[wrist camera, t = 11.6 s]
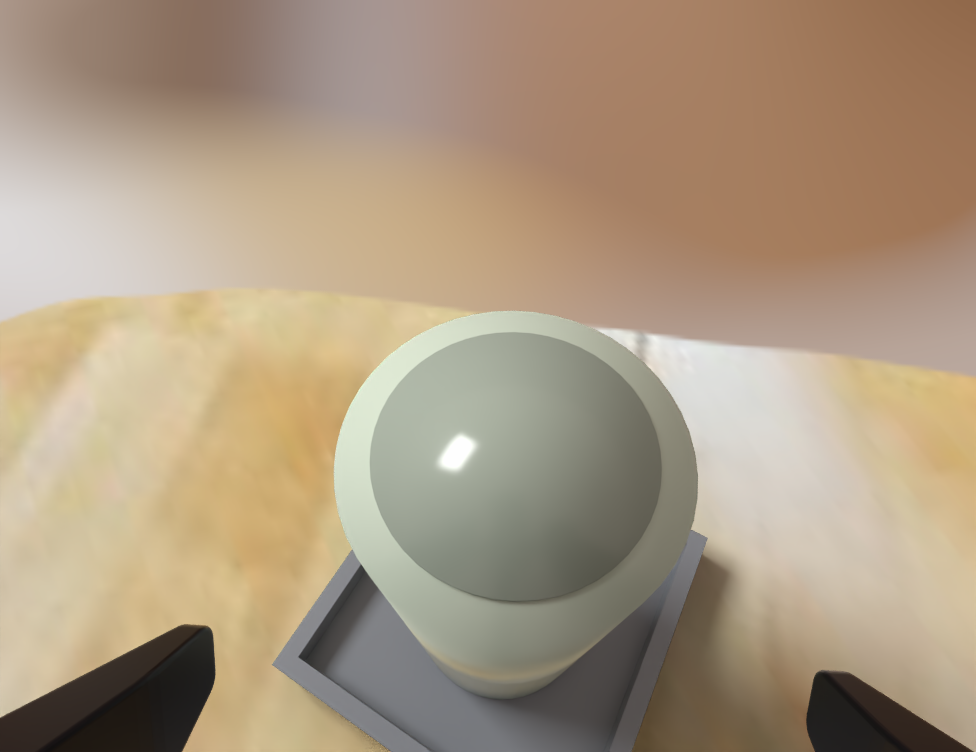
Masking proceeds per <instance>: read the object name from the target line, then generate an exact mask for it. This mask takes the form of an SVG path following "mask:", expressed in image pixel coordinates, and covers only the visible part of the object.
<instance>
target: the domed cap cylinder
mask: <svg viewBox="0 0 976 752" xmlns="http://www.w3.org/2000/svg"><path fill="white" fill-rule="evenodd" d="M334 491H335V497H336V502H337V508H338V514H339V517H340V520H341V523H342V526H343V529H344V532H345V535H346V537H347V539H348V541H349V543H350V545H351V547H352V549H353V551H354V553H355V555H356V557H357V559H358V560H359V562H360V563H361V565H362V566H363V567H364V569H365V570H366V572H367V573H368V575H369V576H370V578H371V579H372V580H373V582H374V583H375V584H376V586H377V587H378V588H379V590H380V591H381V592H382V594H383V595H384V596H385V597H386V599H387V600H388V601H389V603H390V604H391V605H392V607H393V608H394V609H395V611H396V612H397V613H398V615H399V616H400V617H401V619H402V620H403V621H404V623H405V624H406V625H407V627H408V628H409V629H410V631H411V632H412V633H413V635H414V636H415V637H416V639H417V640H418V641H419V643H420V644H421V645H422V647H423V648H424V649H425V651H426V652H427V653H428V655H429V656H430V657H431V659H432V660H433V661H434V662H435V664H436V665H437V666H438V668H439V669H440V670H441V671H442V672H443V673H444V674H445V675H446V677H447V678H449V679H450V680H451V681H452V682H454V683H455V684H456V685H458V686H459V687H461V688H463V689H464V690H466V691H468V692H470V693H473V694H475V695H477V696H481V697H485V698H490V699H499V700H503V699H515V698H520V697H524V696H527V695H530V694H532V693H535V692H537V691H539V690H540V689H542V688H544V687H546V686H547V685H548V684H550V683H551V682H552V681H554V680H555V679H556V678H557V677H558V676H560V675H561V674H562V673H563V672H564V671H565V670H566V669H568V668H569V667H570V666H571V665H572V664H573V663H575V662H576V661H577V660H578V659H579V658H580V657H581V656H583V655H584V654H585V653H586V652H587V651H588V650H590V649H591V648H592V647H593V646H594V645H595V644H596V643H598V642H599V641H600V640H601V639H602V638H603V637H605V636H606V635H607V634H608V633H609V632H610V631H612V630H613V629H614V628H615V627H616V626H617V625H618V624H620V623H621V622H622V621H623V620H624V619H625V618H627V617H628V616H629V615H630V614H631V613H632V612H633V611H635V610H636V609H637V608H638V607H639V606H640V605H642V604H643V603H644V602H645V601H646V600H647V599H648V598H649V597H650V596H651V595H652V594H653V592H654V591H655V590H656V589H657V588H658V587H659V586H660V585H661V584H662V583H663V581H664V580H665V578H666V577H667V576H668V574H669V573H670V572H671V570H672V569H673V567H674V566H675V564H676V562H677V560H678V558H679V557H680V555H681V553H682V551H683V549H684V547H685V545H686V542H687V539H688V536H689V533H690V530H691V527H692V524H693V521H694V515H695V509H696V503H697V493H698V473H697V465H696V457H695V451H694V447H693V444H692V440H691V436H690V433H689V430H688V428H687V425H686V423H685V420H684V418H683V416H682V413H681V411H680V410H679V408H678V406H677V404H676V403H675V401H674V399H673V397H672V396H671V394H670V393H669V391H668V390H667V389H666V387H665V386H664V385H663V383H662V382H661V381H660V379H659V378H658V377H657V376H656V375H655V374H654V373H653V372H652V371H651V369H650V368H649V367H648V366H647V365H646V364H645V363H644V362H643V361H641V360H640V359H639V358H638V357H637V356H635V355H634V354H633V353H632V352H631V351H629V350H628V349H627V348H625V347H624V346H622V345H621V344H619V343H618V342H616V341H615V340H613V339H612V338H610V337H608V336H606V335H604V334H602V333H601V332H599V331H597V330H595V329H593V328H590V327H588V326H585V325H583V324H580V323H578V322H575V321H572V320H568V319H565V318H561V317H558V316H554V315H548V314H542V313H536V312H524V311H496V312H488V313H480V314H474V315H470V316H466V317H462V318H457V319H454V320H451V321H448V322H446V323H443V324H440V325H437V326H435V327H433V328H431V329H429V330H427V331H425V332H423V333H421V334H419V335H417V336H416V337H414V338H413V339H411V340H409V341H408V342H406V343H405V344H403V345H402V346H400V347H399V348H398V349H397V350H395V351H394V352H393V353H392V354H390V355H389V356H388V357H387V358H386V359H385V360H384V361H383V362H382V363H381V364H380V365H379V366H378V367H377V368H376V369H375V370H374V371H373V372H372V373H371V375H370V376H369V377H368V379H367V380H366V381H365V383H364V384H363V385H362V387H361V388H360V389H359V391H358V393H357V395H356V396H355V398H354V400H353V402H352V403H351V405H350V407H349V409H348V412H347V414H346V417H345V419H344V421H343V424H342V427H341V431H340V434H339V438H338V442H337V446H336V454H335V462H334Z"/></svg>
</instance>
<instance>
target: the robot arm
mask: <svg viewBox="0 0 976 752" xmlns="http://www.w3.org/2000/svg"><path fill="white" fill-rule="evenodd" d="M214 680H215V657H214V642H213V633H212V630H211V629H210V628H209V627H208V626H204V625H190V624H184V625H180V626H178V627H176V628H174V629H172V630H170V631H168V632H166V633H164V634H163V635H161V636H159V637H157V638H155V639H153V640H151V641H149V642H147V643H145V644H143V645H141V646H139V647H137V648H135V649H133V650H131V651H129V652H127V653H125V654H123V655H122V656H120V657H118V658H116V659H114V660H112V661H110V662H108V663H106V664H104V665H102V666H100V667H98V668H96V669H94V670H92V671H90V672H88V673H86V674H84V675H83V676H81V677H79V678H77V679H75V680H73V681H71V682H69V683H67V684H65V685H63V686H61V687H59V688H57V689H55V690H53V691H51V692H49V693H47V694H45V695H44V696H42V697H40V698H38V699H36V700H34V701H32V702H30V703H28V704H26V705H24V706H22V707H20V708H18V709H16V710H14V711H12V712H10V713H8V714H6V715H5V716H3V717H1V718H0V752H182V751H183V749H184V747H185V745H186V743H187V741H188V739H189V736H190V734H191V732H192V730H193V728H194V726H195V724H196V722H197V720H198V718H199V716H200V714H201V711H202V709H203V707H204V705H205V703H206V701H207V699H208V697H209V695H210V693H211V690H212V688H213V685H214ZM806 723H807V730H808V734H809V737H810V740H811V743H812V745H813V748H814V750H815V752H973V751H972V750H970V749H969V748H967V747H966V746H964V745H962V744H961V743H959V742H958V741H956V740H955V739H953V738H951V737H950V736H948V735H947V734H945V733H944V732H942V731H940V730H939V729H937V728H936V727H934V726H933V725H931V724H929V723H928V722H926V721H925V720H923V719H922V718H920V717H918V716H917V715H915V714H914V713H912V712H910V711H909V710H907V709H906V708H904V707H903V706H901V705H899V704H898V703H896V702H895V701H893V700H892V699H890V698H888V697H887V696H885V695H884V694H882V693H881V692H879V691H877V690H876V689H874V688H873V687H871V686H870V685H868V684H866V683H865V682H863V681H862V680H860V679H859V678H857V677H855V676H854V675H852V674H850V673H848V672H843V671H829V670H821V671H819V672H817V673H816V675H815V677H814V680H813V685H812V690H811V696H810V701H809V706H808V711H807V718H806Z"/></svg>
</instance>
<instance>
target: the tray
mask: <svg viewBox="0 0 976 752" xmlns="http://www.w3.org/2000/svg"><path fill="white" fill-rule="evenodd" d="M707 539H708V538H707V537H705V536H703V535H701V534H699V533H697V532H695V531H693V530H690V533H689V536H688V539H687V542H686V545H685V547H684V549H683V551H682V553H681V555H680V557H679V558H678V560H677V562H676V564H675V566H674V567H673V569H672V570H671V572H670V573H669V574H668V576H667V577H666V578H665V580H664V581H663V583H662V584H661V585H660V586H659V587H658V588H657V589H656V590H655V591H654V592H653V594H652V595H651V596H650V597H649V598H648V599H647V600H646V601H645V602H644V603H643V604H642V605H640V606H639V607H638V608H637V609H636V610H635V611H633V612H632V613H631V614H630V615H629V616H628V617H627V618H625V619H624V620H623V621H622V622H621V623H620V624H618V625H617V626H616V627H615V628H614V629H613V630H612V631H610V632H609V633H608V634H607V635H606V636H605V637H603V638H602V639H601V640H600V641H599V642H598V643H596V644H595V645H594V646H593V647H592V648H591V649H590V650H588V651H587V652H586V653H585V654H584V655H583V656H581V657H580V658H579V659H578V660H577V661H576V662H575V663H573V664H572V665H571V666H570V667H569V668H568V669H566V670H565V671H564V672H563V673H562V674H561V675H560V676H558V677H557V678H556V679H555V680H554V681H552V682H551V683H550V684H548V685H547V686H546V687H544V688H542V689H540V690H539V691H537V692H535V693H532V694H530V695H527V696H524V697H520V698H515V699H503V700H499V699H490V698H485V697H481V696H477V695H475V694H473V693H470V692H468V691H466V690H464V689H463V688H461V687H459V686H458V685H456V684H455V683H454V682H452V681H451V680H450V679H449V678H447V677H446V675H445V674H444V673H443V672H442V671H441V670H440V669H439V668H438V666H437V665H436V664H435V662H434V661H433V660H432V659H431V657H430V656H429V655H428V653H427V652H426V651H425V649H424V648H423V647H422V645H421V644H420V643H419V641H418V640H417V639H416V637H415V636H414V635H413V633H412V632H411V631H410V629H409V628H408V627H407V625H406V624H405V623H404V621H403V620H402V619H401V617H400V616H399V615H398V613H397V612H396V611H395V609H394V608H393V607H392V605H391V604H390V603H389V601H388V600H387V599H386V597H385V596H384V595H383V594H382V592H381V591H380V590H379V588H378V587H377V586H376V584H375V583H374V582H373V580H372V579H371V578H370V576H369V575H368V573H367V572H366V570H365V569H364V567H363V566H362V565H361V563H360V562H359V560H358V559H357V557H356V555H355V553H354V551H353V549H352V551H351V552H350V553H349V555H348V556H347V558H346V559H345V561H344V562H343V563H342V565H341V566H340V568H339V569H338V571H337V572H336V574H335V575H334V576H333V578H332V579H331V581H330V582H329V584H328V585H327V586H326V588H325V589H324V591H323V592H322V594H321V595H320V597H319V598H318V599H317V601H316V602H315V604H314V605H313V607H312V608H311V609H310V611H309V612H308V614H307V615H306V617H305V618H304V619H303V621H302V622H301V624H300V625H299V627H298V628H297V630H296V631H295V632H294V634H293V635H292V637H291V638H290V640H289V641H288V642H287V644H286V645H285V647H284V648H283V650H282V651H281V653H280V654H279V655H278V657H277V658H276V660H275V661H274V663H273V664H272V665H273V666H274V667H276V668H277V669H279V670H280V671H281V672H283V673H284V674H285V675H287V676H288V677H290V678H291V679H292V680H294V681H295V682H296V683H298V684H299V685H301V686H302V687H303V688H305V689H306V690H307V691H309V692H310V693H312V694H313V695H314V696H316V697H317V698H318V699H320V700H321V701H323V702H324V703H325V704H327V705H328V706H329V707H331V708H332V709H334V710H335V711H336V712H338V713H339V714H340V715H342V716H343V717H345V718H346V719H347V720H349V721H350V722H351V723H353V724H354V725H356V726H357V727H358V728H360V729H361V730H362V731H364V732H365V733H367V734H368V735H369V736H371V737H372V738H373V739H375V740H376V741H378V742H379V743H380V744H382V745H383V746H384V747H386V748H387V749H389V750H390V751H391V752H632V749H633V746H634V743H635V741H636V738H637V735H638V732H639V729H640V726H641V724H642V721H643V718H644V715H645V712H646V710H647V707H648V704H649V701H650V698H651V696H652V693H653V690H654V687H655V684H656V682H657V679H658V676H659V673H660V670H661V668H662V665H663V662H664V659H665V656H666V654H667V651H668V648H669V645H670V642H671V640H672V637H673V634H674V631H675V628H676V626H677V623H678V620H679V617H680V614H681V611H682V609H683V606H684V603H685V600H686V597H687V595H688V592H689V589H690V586H691V583H692V581H693V578H694V575H695V572H696V569H697V567H698V564H699V561H700V558H701V555H702V553H703V550H704V547H705V544H706V541H707Z"/></svg>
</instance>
